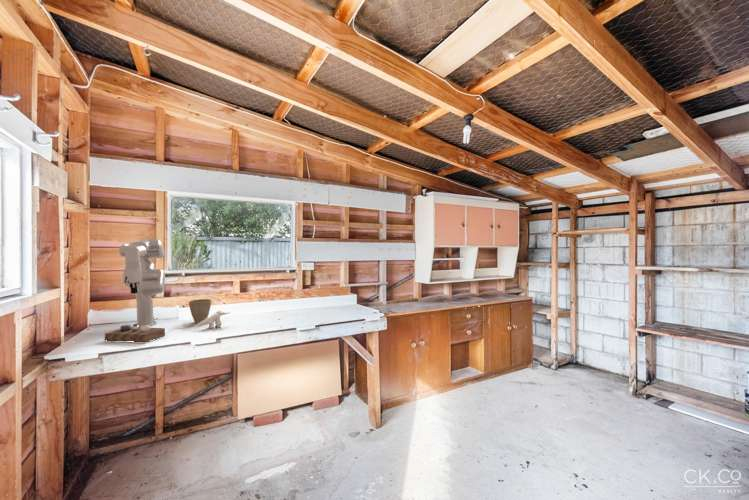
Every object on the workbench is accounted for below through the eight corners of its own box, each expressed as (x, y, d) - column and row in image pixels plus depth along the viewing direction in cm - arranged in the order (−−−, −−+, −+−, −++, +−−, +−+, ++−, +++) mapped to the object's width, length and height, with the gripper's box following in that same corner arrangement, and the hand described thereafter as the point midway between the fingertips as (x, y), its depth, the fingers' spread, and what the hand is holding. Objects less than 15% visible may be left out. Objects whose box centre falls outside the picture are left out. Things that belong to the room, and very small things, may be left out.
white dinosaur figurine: (232, 324, 224) (230, 309, 222) (194, 334, 208) (192, 318, 207) (229, 322, 229) (227, 307, 228) (192, 331, 213) (190, 316, 212)
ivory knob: (145, 337, 196) (145, 324, 196) (152, 337, 196) (152, 325, 195) (138, 339, 191) (138, 326, 191) (145, 340, 191) (145, 327, 191)
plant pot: (205, 324, 227) (204, 302, 227) (184, 324, 227) (184, 302, 226) (215, 319, 242) (215, 298, 241) (196, 319, 242) (195, 299, 241)
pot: (135, 329, 196) (135, 323, 196) (139, 330, 196) (139, 323, 195) (131, 331, 193) (131, 324, 193) (135, 331, 193) (135, 325, 192)
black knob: (125, 336, 198) (125, 324, 198) (132, 336, 197) (132, 324, 197) (118, 339, 193) (118, 326, 193) (125, 339, 193) (125, 326, 192)
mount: (105, 341, 189) (104, 333, 189) (126, 334, 203) (125, 327, 203) (146, 343, 186) (146, 334, 185) (164, 335, 199) (164, 328, 199)
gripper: (137, 263, 208) (138, 290, 210) (116, 266, 193) (118, 295, 195) (147, 264, 208) (148, 291, 209) (127, 266, 193) (129, 295, 194)
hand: (134, 293), depth 202 cm, fingers closed
